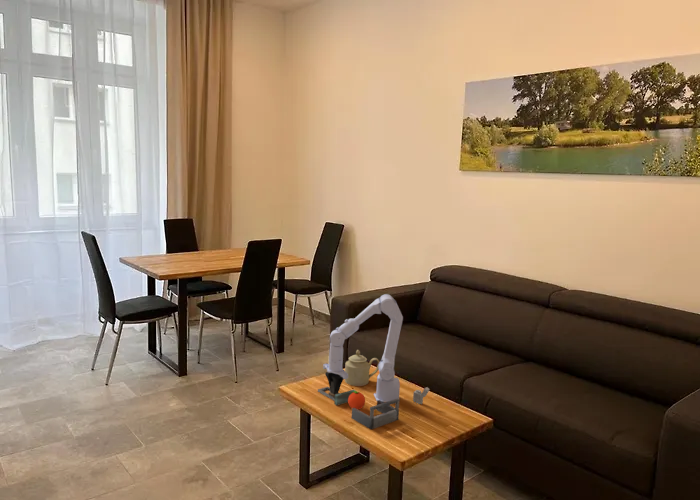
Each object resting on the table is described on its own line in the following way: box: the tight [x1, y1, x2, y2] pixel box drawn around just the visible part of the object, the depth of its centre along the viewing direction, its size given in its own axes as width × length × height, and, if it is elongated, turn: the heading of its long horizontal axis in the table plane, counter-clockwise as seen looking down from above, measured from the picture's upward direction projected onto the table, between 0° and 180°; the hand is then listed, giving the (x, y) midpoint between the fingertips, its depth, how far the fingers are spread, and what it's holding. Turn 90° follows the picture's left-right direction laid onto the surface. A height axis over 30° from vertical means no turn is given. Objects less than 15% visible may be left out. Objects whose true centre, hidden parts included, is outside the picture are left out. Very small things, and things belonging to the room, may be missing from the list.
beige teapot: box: [344, 349, 380, 387], centre depth 247 cm, size 15×11×15 cm
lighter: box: [412, 386, 430, 405], centre depth 226 cm, size 7×2×8 cm, turn 42°
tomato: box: [347, 390, 366, 410], centre depth 218 cm, size 8×7×7 cm
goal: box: [350, 398, 401, 430], centre depth 209 cm, size 11×15×8 cm
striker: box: [328, 381, 357, 406], centre depth 226 cm, size 10×10×6 cm
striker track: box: [317, 386, 340, 402], centre depth 230 cm, size 13×5×1 cm, turn 40°
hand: (334, 389), depth 229 cm, fingers closed on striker, 2 cm apart
